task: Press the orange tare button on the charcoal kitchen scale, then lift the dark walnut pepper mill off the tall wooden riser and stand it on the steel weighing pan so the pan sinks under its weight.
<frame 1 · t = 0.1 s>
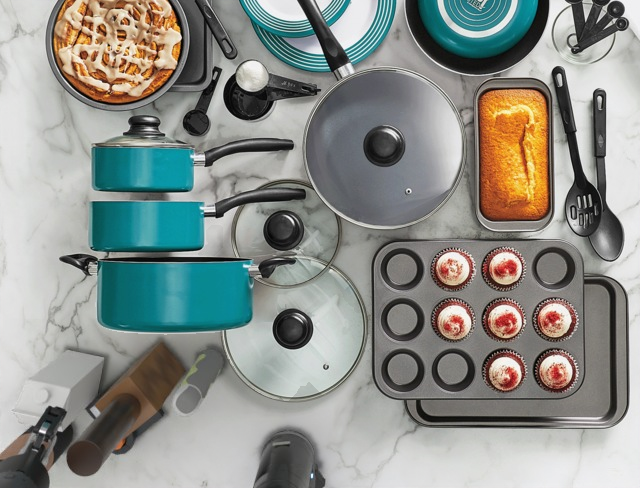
hand: (49, 437, 100), 22 cm above the worktop, tool pointing down, fingers open, 8 cm apart
tare button: (117, 440, 119), point 3 cm above the worktop, slide at 0.1 cm
milk carton: (83, 372, 123), on the worktop
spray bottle: (211, 361, 122), on the worktop
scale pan: (114, 411, 118), point 4 cm above the worktop, slide at 0.0 cm
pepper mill: (125, 408, 104), point 18 cm above the worktop, touching riser
riser: (159, 367, 122), on the worktop
scale: (126, 409, 122), on the worktop
travel mug: (54, 432, 123), on the worktop
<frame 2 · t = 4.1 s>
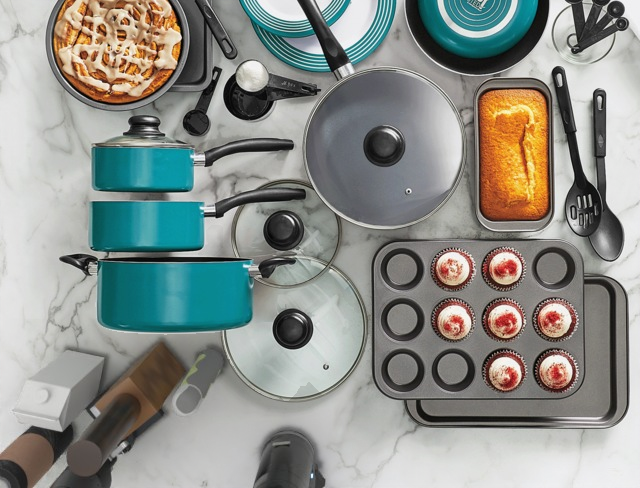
hand: (116, 440, 119), 3 cm above the worktop, tool pointing down, fingers closed
tare button: (118, 438, 120), point 3 cm above the worktop, slide at -0.7 cm, touching gripper
everything else where it was.
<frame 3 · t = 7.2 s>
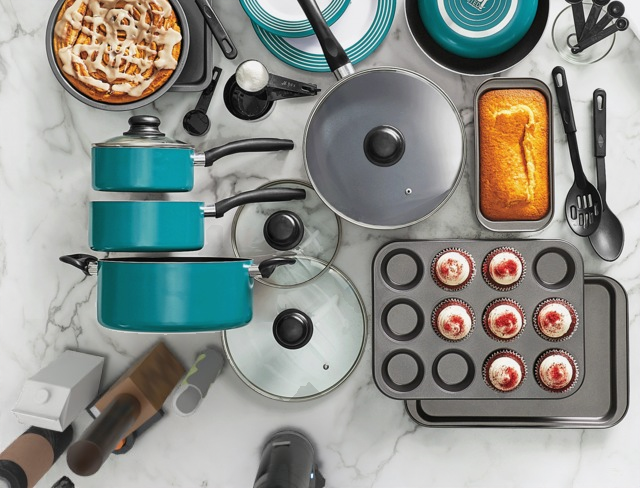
hand: (66, 484, 86), 36 cm above the worktop, tool pointing down, fingers closed
tare button: (117, 440, 119), point 3 cm above the worktop, slide at 0.1 cm
everything else where it was.
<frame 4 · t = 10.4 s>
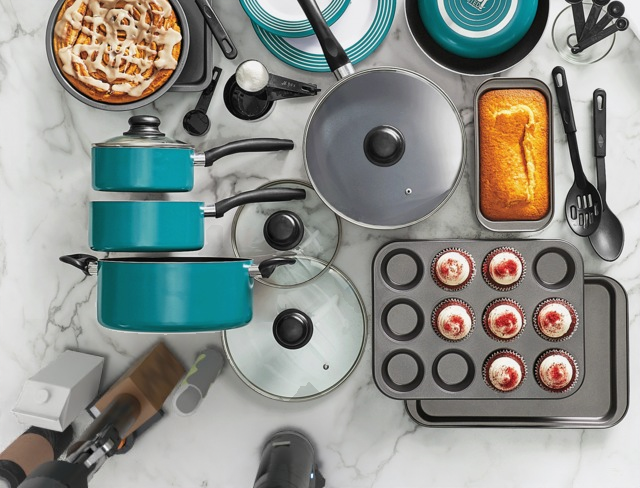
hand: (97, 442, 93), 29 cm above the worktop, tool pointing down, fingers closed on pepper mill, 5 cm apart
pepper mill: (125, 408, 104), point 18 cm above the worktop, touching gripper, riser
everything else where it was.
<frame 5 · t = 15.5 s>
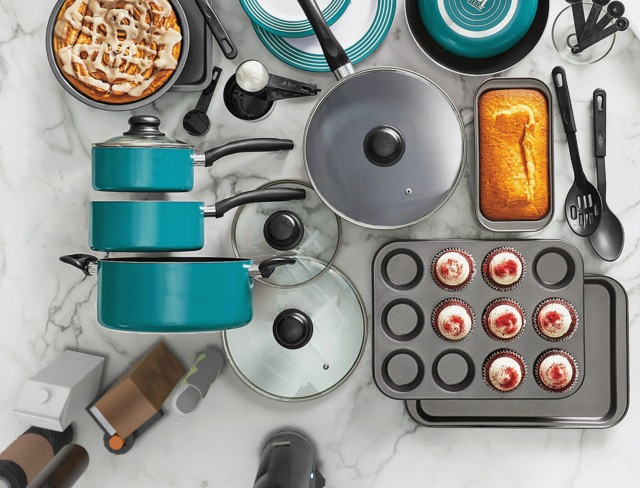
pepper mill: (73, 459, 101), point 22 cm above the worktop, touching gripper
everything else where it was.
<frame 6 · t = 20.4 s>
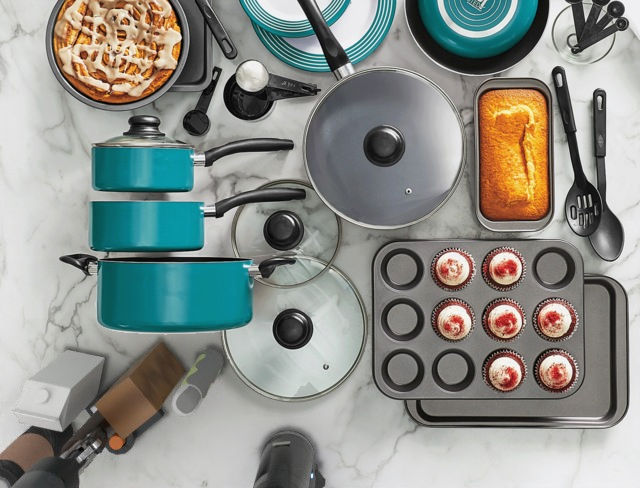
hand: (88, 441, 107), 16 cm above the worktop, tool pointing down, fingers closed on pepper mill, 5 cm apart
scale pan: (114, 410, 118), point 4 cm above the worktop, slide at -0.2 cm, touching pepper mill
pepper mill: (114, 411, 118), point 5 cm above the worktop, touching gripper, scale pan
everything else where it was.
when the fingers open (16 cm above the worktop, at t = 20.4 s): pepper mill stays where it is, resting on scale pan.
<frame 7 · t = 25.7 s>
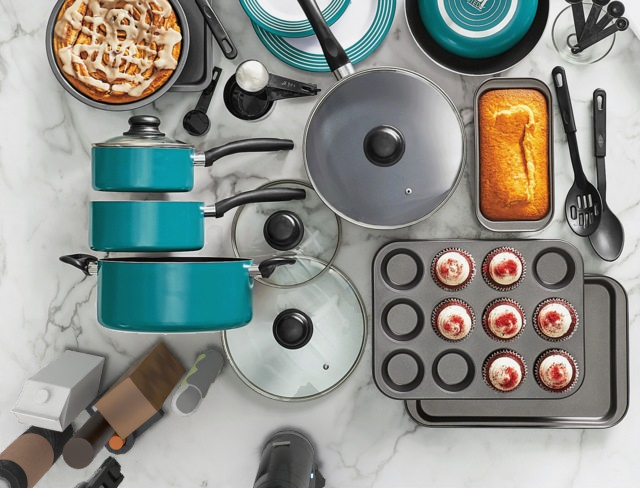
hand: (87, 485, 82), 40 cm above the worktop, tool pointing down, fingers open, 8 cm apart
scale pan: (116, 409, 119), point 4 cm above the worktop, slide at -0.8 cm, touching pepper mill
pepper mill: (115, 410, 118), point 4 cm above the worktop, touching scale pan
everything else where it was.
at the end: tare button pushed in 0.9 cm at the most during the clip, back to where it started at the end; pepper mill 0.0 cm off-centre on the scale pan, point 1.8 cm above the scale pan's base; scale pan slide at -0.8 cm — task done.
